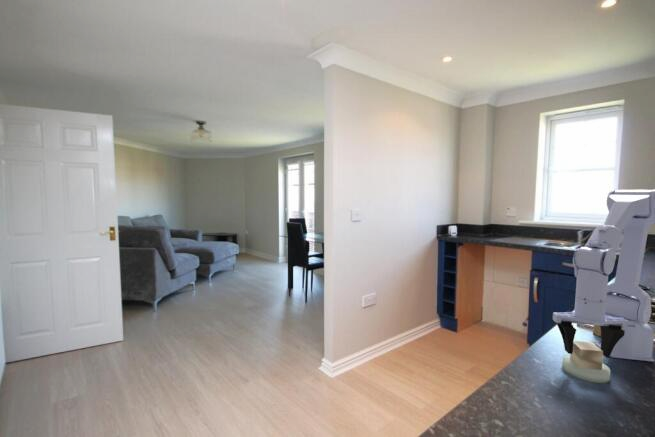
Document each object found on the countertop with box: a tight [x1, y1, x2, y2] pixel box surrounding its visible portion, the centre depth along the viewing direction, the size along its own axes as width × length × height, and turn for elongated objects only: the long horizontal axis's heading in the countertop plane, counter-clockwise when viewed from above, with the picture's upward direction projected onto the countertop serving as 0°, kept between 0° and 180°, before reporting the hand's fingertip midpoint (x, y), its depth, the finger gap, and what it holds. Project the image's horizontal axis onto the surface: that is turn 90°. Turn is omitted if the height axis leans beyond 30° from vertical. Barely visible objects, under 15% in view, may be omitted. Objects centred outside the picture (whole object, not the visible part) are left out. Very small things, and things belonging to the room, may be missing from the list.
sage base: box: [561, 354, 611, 384], centre depth 79 cm, size 9×9×2 cm
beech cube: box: [569, 340, 604, 370], centre depth 78 cm, size 4×4×4 cm
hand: (586, 353), depth 78 cm, fingers open, 7 cm apart
